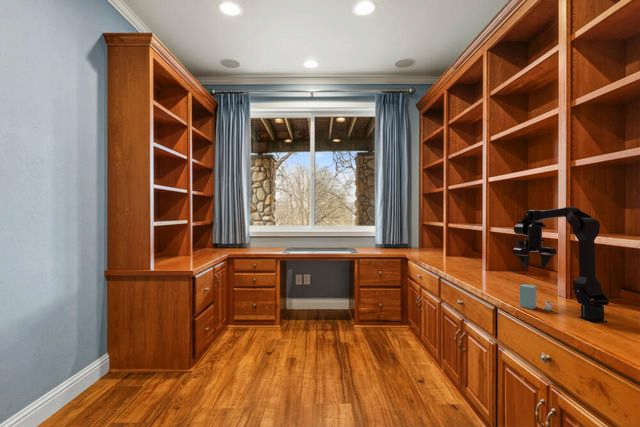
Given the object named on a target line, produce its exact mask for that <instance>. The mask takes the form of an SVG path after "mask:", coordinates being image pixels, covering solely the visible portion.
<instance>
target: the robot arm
mask: <svg viewBox="0 0 640 427" xmlns="http://www.w3.org/2000/svg"><path fill="white" fill-rule="evenodd" d="M557 218H566V222H567V223H568V225H570V226H571V227H572V233H573V234H574V235H573V236H575V237H576V239H577V241H578V242H577V243H578V272H579V273H578V274H579V275H578V277H577V279H576V278H575V279H572V290H573V294H574V295H575V298H576V301H577V303H578V304H580V316H577V318H579V319H581V320H584V321H586V322H589V323H593V324H599V323H608V320H606V319H605V306H608V305H609V303H610V300H609V298H608V297H607V296H606V295H605V293H604V292H603V291H602V285H601V283H600V281H599V280H598V279H597V276H596V252H595V251H596V250H595V240H596V238H597V237H598V236H599V234H600V228H601V223H600V221H599V220H598V219H596V218H595V217H593V216H591V215H590V214H588V213H586V212H584V211H582V210H581V209H580V208H579V207H576V206H565V207H561V208H560V207H559V208H553V209H546V210H544V209H529V210H526V212H525V214H524V216H523V217H522V219H521V220H520V221H519V220H518V221H517V222H516V224H515V225H514V227H513V232H514V234H516V235H519V236H520V235H521V236H527V237H525V238H524V241H522V240H515V241H514V246H515V247H514V248H513V249H512V254H513V255H515V256H517V257H519V259H520V261H521V264H522V267H523V268H524V270H528V268H529V263H530V258H531V255H530V254H539V256H540V260H541V265H540V266H541V269H542V270H545V269H546V267H547V266H548V264H549V262H550V261H551V259H552V258H553V257H554V256H555V255H557V253H558V252H557V250H558V249H556V248H554V247H550V246H549V247H548V246H546V247H545V246H543V242H545V238H543V228H546V227H547V225H546V224H545V223H544V222H545V221H548V220H550V219H557Z"/></svg>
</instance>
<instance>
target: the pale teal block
mask: <svg viewBox="0 0 640 427" xmlns="http://www.w3.org/2000/svg"><path fill="white" fill-rule="evenodd" d="M537 288H538V286H537V285H533V284H525V283H523V284H520V285H519V307H520V308H526V309H530V310H534V309H536V308H537V303H538V302H537V300H538V296H537V290H538V289H537Z"/></svg>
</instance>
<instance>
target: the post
mask: <svg viewBox="0 0 640 427" xmlns="http://www.w3.org/2000/svg"><path fill="white" fill-rule="evenodd" d="M543 311H545V312H546V313H547V312H549V313H552V312H553V303H552V302H551V301H549V300H546V301H545V302H544V308H543Z"/></svg>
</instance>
